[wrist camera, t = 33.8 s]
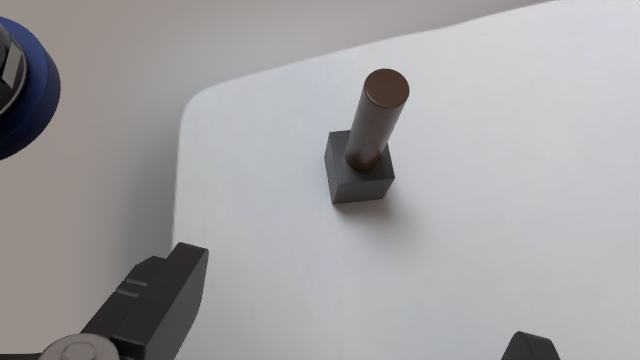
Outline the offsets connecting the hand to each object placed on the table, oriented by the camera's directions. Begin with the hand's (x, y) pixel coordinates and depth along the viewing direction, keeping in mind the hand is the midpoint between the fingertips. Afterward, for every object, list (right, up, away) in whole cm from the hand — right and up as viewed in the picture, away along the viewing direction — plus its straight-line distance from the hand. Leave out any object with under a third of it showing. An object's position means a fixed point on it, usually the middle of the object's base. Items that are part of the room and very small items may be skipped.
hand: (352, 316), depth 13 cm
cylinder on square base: (+1, +4, +22) cm, 23 cm away
